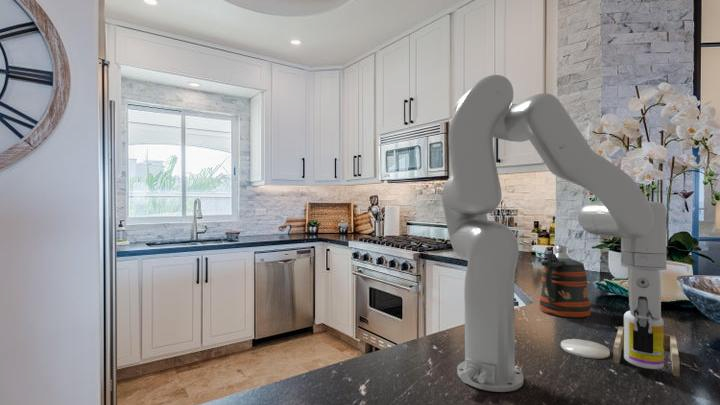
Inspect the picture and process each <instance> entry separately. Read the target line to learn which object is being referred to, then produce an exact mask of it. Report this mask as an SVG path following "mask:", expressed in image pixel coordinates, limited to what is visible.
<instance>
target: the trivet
mask: <svg viewBox="0 0 720 405" xmlns="http://www.w3.org/2000/svg"><path fill="white" fill-rule="evenodd" d="M560 347H561V350H563V351H565V352H566V353H569V354H571V355H572V356H577V357H582V358H585V359H595V360H597V359H599V360H601V359H607V358H609V357H610V355H611V353H610V352H611V350H610V349H609V348H608V347H607V346H605V345H603V344H601V343H598V342H594V341H592V340H585V339H580V338H572V339H571V338H569V339H568V338H567V339H563V340H561V342H560Z"/></svg>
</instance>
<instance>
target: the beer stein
mask: <svg viewBox="0 0 720 405" xmlns="http://www.w3.org/2000/svg"><path fill="white" fill-rule="evenodd" d="M541 266H542V267H543V266H544V267H543V269H542V270H543V272H542V276H541V281H542V284H541V293H540V296H539V306H538V308H539V310H540V311H542V312H543V313H546V314H549V315H553V316H556V317H557V316H559V317H563V318H573V319H581V318H588V317H590V316H591V314H592V312H591V302H590V298H589V293H588V285H589V284H588V278H587V270H585V265H584V263H583V262H580V261H578V260H575V259H572V258H569V259H565V258H557V256H556V255H555V253H552V252H548V253H547V259H545V260H543V261H542V262H541Z"/></svg>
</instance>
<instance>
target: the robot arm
mask: <svg viewBox="0 0 720 405" xmlns="http://www.w3.org/2000/svg"><path fill="white" fill-rule="evenodd" d="M514 96H515V95H514V88H513V85H512V83H511V81H510V80H509V79H508V78H507V77H505V76H503V75H500V74H491V75H488V76H486V77H483V78H481V79H480V80H478V81H477V82H476V83H475V84H474V85H472V87H471V88H470V89H469V90H468V91H466V92H465V93H464V94H463V95H461V97H459V99H458V100H457V102H456V103H455V105H454V108H453V117H452V118H451V122H450V126H449V130H448V131H449V132H448V150H449V156H450V157H449V158H450V164H451V170H452V175H451V176H450V177H449V178H448V179H447V180H446V181H445V183H444V185H443V189H442V197H441V198H442V206H443V210H444V211H443V212H444V218H445V222H446V227H447V232H448V237H449V241H450V244H451V246H452V249H453V252H455V254H456V255H457V256H459V258H461V259H462V260H464V261H466V262H467V265H466V266H467V267H466V271H465V277H464V288H463V289H464V291H463V292H464V294H463V295H464V361H462V362H460V363H459V364H458V365H457V368H456V369H457V371H456V373H457V377H458V378H459V379H460V380H461V382H462V383H464V384H467V385H469V386H471V387H474V388H476V389H478V390H481V391H482V390H483V391H488V392H494V393H506V392H507V393H508V392H514V391H516V390H518V389H520V388H521V387H522V386H524V375H523V373H522V372H521V371H520V370H519V369H518V368H517V367H516V360H515V359H516V358H515V357H516V356H515V355H516V349H515V348H516V347H515V344H516V343H515V342H516V341H515V340H516V339H515V338H516V337H515V336H516V335H515V334H516V332H515V331H516V330H515V329H516V328H515V327H516V326H515V325H516V324H515V278H516V270H517V265H518V264H517V263H518V259H519V247H520V246H519V242H518V240H517V237H516V235H515V233H514V232H513V231H512V229H511V228H509V227H508V226H507V225H505V224H503V223H501V222H499V221H495V220H488V214H490V213H493V212H494V211H496V209H498V207H499V205H500V204H501V202H502V187H501V183H500V177H499V172H498V167H497V162H496V157H495V151H494V139H499V140H504V141H507V142H508V141H510V142H516V143H518V142H519V143H521V142H527V141H530V143H531V145H532V146H533V147H534V149H535V151H537V154H538V155H539V157H540V158H541V159H542V162H544V164H545V166H546V167H547V168H548V170H549V172H550V173H551V174H552V175H554V176H556V177H557V178H560V179H561V180H562V179H563V180H565V181H566V182H570V183H572V184H575V185H577V186H580V187H581V188H583V189H585V190H587V191H588V192H590V193H591V194H592V195H594V196H595V197H596V198H597V199H598V200H594V201H590V202H588V203H586V204H584V205H583V206H582V207H581V208H580V210H579V211H578V214H577V222H578V224H579V226H580V227H581V228H582V229H583V231H585V232H587V233H589V234H591V235H596V236H601V237H610V238H611V237H613V238H620V239H621V240H620V263H621V264H620V265H621V267H623V268H626V269H627V278H628V279H627V280H628V281H627V286H628V303H629V304H630V305H629V304H628V305H629V311H630V313H631V315H632V316H634V318H635V321H634V330H633V349H634V350H636V351H641V352H646V353H651V354H652V353H653V333H652V317H653V318H657V320H660V319H661V318H662V310H661V309H662V307H661V306H662V302H661V301H662V300H661V299H662V288H661V287H662V282H661V271H665V270H667V207H666V206H665V204H664V203H663V202H660V201H649V200H648V198H647V197H646V195H645V194H644V192H643V191H642V190H641V188H640V186H639V185H638V184H637V183H636V181H635V180H634V179H633V178H632V177H631V176H630V175H629V174H628V173H627V172H625V171H624V170H623V169H621V168H619V167H618V165H615V164H614V163H612V162H611V161H610V160H609V159H607V158H605V157H603V156H602V155H600V154H598V153H596V152H595V151H594V150H593V149H592V148H591V147H590V145H589V143H588V142H587V140H586V139H585V137H584V135H583V134H582V133H581V131H580V130H579V128H578V126H577V125H576V124H575V122H574V120H573V119H572V117H571V116H570V114H569V113H568V111H567V110H566V109H565V108H566V107H564V106H563V104H562V102H561V101H560V100H559V99H558V98H557V97H556V96H555V95H553V94H551V93H546V92H545V93H544V92H543V93H538V94H535V95H533V96H529V97H528V98H526V99H524V100H522V101H520V102H519V103H513V101H514ZM634 310H635V311H634ZM637 313H639V315H637ZM647 314H648V315H649V317H647ZM638 319H639V320H638Z"/></svg>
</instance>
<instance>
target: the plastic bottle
mask: <svg viewBox="0 0 720 405" xmlns="http://www.w3.org/2000/svg"><path fill="white" fill-rule="evenodd" d="M554 251H555V252H554V254H555V255H556V256H557V258H565V259H569V258H570V256H569V254H568V253H567V252H568V250H567V245H555V249H554Z"/></svg>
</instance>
